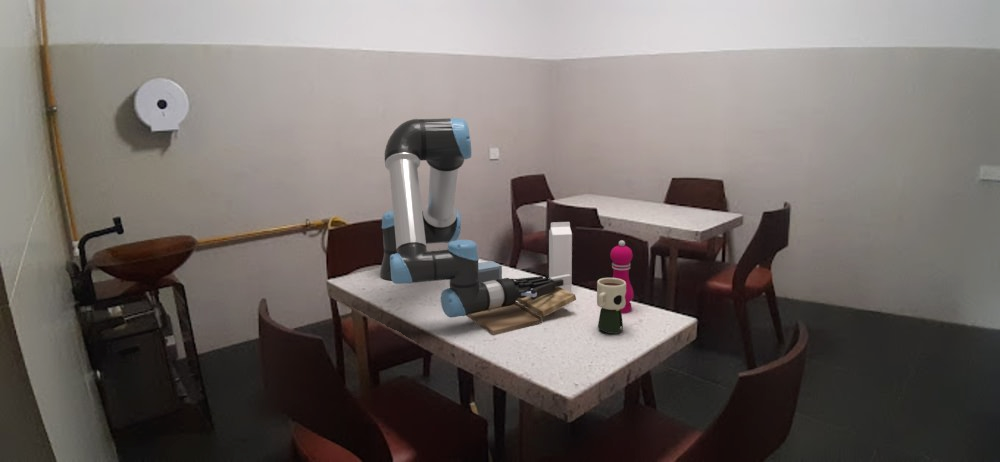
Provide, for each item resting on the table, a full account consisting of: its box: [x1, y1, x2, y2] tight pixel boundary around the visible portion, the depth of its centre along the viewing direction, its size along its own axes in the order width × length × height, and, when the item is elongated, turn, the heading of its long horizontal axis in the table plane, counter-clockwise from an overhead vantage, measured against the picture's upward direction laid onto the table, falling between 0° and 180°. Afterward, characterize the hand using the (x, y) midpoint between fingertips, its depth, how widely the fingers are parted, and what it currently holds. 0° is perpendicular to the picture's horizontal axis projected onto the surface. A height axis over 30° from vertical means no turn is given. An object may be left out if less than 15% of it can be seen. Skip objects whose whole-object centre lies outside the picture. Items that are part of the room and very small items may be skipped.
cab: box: [478, 260, 503, 283], centre depth 150 cm, size 8×19×12 cm, turn 119°
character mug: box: [596, 277, 626, 334], centre depth 129 cm, size 11×7×13 cm, turn 138°
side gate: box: [516, 287, 577, 317], centre depth 146 cm, size 16×2×11 cm
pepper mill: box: [609, 239, 634, 314], centre depth 143 cm, size 7×7×20 cm
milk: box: [548, 221, 573, 293], centre depth 159 cm, size 6×6×22 cm
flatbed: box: [466, 301, 543, 336], centre depth 140 cm, size 18×15×2 cm
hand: (569, 279), depth 148 cm, fingers closed
